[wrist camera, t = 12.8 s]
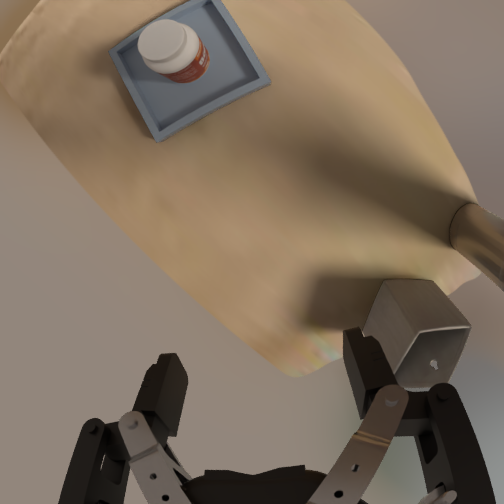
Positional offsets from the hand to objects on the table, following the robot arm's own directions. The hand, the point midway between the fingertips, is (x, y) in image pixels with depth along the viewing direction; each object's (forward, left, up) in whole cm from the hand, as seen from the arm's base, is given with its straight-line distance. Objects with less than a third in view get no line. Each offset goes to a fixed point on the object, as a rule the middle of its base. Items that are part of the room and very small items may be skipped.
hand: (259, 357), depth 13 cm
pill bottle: (+5, -21, -27) cm, 35 cm away
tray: (+5, -21, -28) cm, 35 cm away
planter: (-20, +20, -28) cm, 40 cm away
